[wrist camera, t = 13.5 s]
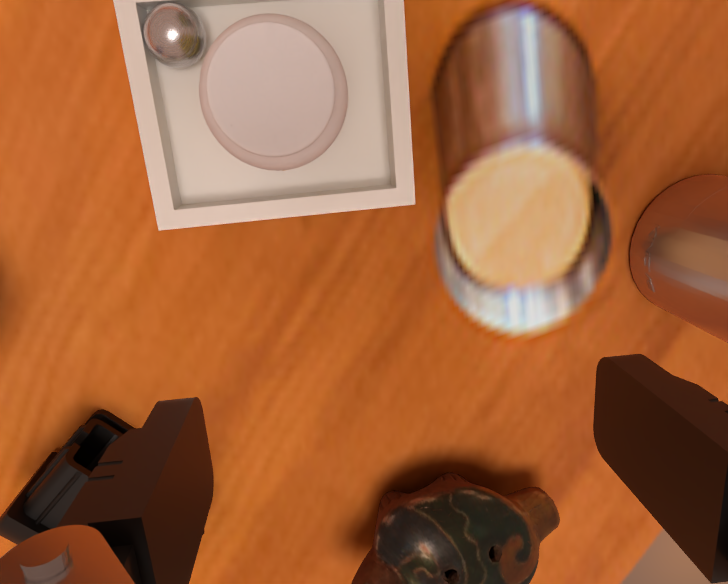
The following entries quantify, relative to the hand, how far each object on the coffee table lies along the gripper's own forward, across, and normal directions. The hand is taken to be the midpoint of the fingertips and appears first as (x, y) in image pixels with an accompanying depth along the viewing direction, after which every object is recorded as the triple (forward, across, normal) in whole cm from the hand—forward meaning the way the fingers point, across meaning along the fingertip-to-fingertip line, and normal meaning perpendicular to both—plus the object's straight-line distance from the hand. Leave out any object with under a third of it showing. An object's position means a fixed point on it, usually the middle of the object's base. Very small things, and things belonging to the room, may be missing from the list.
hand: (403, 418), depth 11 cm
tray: (+24, +3, -7) cm, 25 cm away
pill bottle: (+23, +3, -7) cm, 24 cm away
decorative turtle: (+24, -5, +22) cm, 33 cm away
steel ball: (+22, +8, -10) cm, 26 cm away
